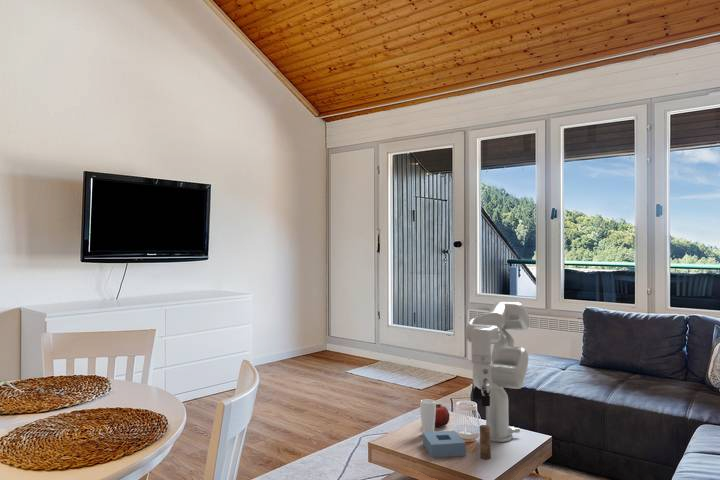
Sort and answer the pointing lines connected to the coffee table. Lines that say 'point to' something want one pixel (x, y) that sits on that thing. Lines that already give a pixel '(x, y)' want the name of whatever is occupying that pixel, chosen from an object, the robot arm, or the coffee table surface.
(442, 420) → the fruit
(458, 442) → the socket block
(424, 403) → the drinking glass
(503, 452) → the coffee table surface
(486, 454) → the walnut pin
